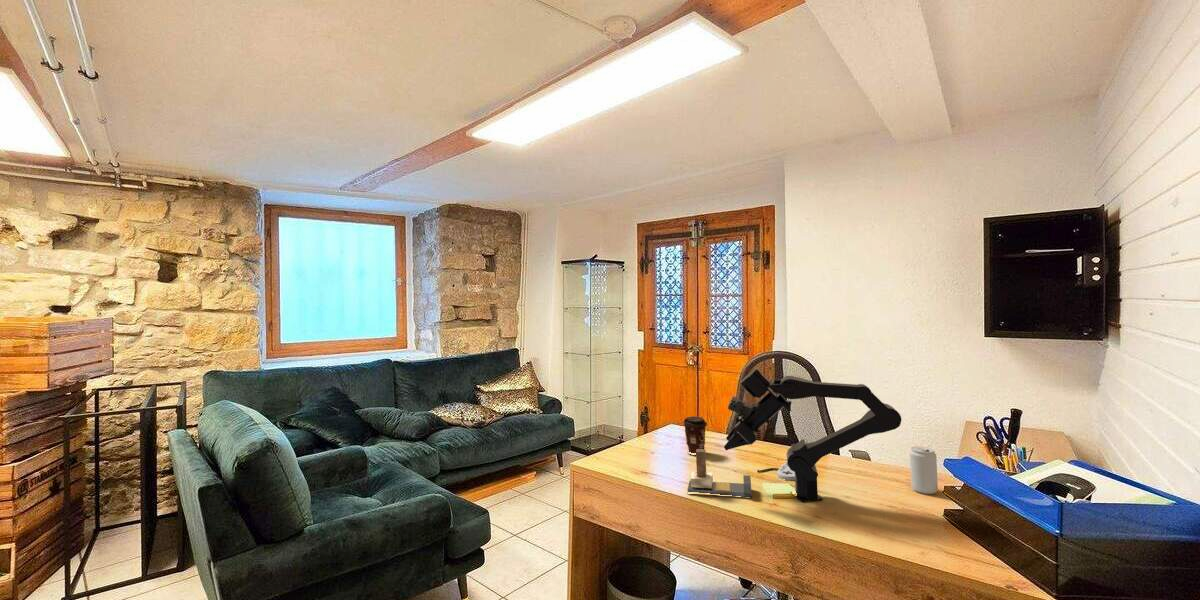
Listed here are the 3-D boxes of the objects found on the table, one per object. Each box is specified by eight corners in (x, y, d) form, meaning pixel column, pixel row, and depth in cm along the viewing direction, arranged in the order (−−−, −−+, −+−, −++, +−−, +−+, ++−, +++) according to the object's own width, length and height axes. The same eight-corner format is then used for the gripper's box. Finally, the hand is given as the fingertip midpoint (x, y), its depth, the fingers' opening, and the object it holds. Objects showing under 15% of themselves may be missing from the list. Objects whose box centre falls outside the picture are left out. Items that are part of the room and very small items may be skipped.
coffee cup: (679, 454, 183) (678, 418, 183) (692, 448, 189) (691, 414, 189) (699, 458, 177) (698, 422, 177) (712, 453, 183) (710, 417, 183)
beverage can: (925, 496, 138) (924, 453, 138) (905, 488, 144) (904, 447, 144) (943, 493, 139) (941, 450, 139) (923, 485, 146) (921, 444, 146)
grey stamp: (712, 480, 150) (711, 447, 150) (711, 488, 145) (710, 454, 145) (692, 479, 152) (691, 447, 152) (691, 487, 146) (689, 453, 146)
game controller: (796, 483, 152) (796, 477, 152) (754, 476, 159) (754, 470, 159) (806, 468, 165) (806, 462, 165) (767, 462, 172) (766, 457, 172)
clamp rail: (750, 489, 148) (750, 475, 148) (751, 498, 141) (751, 484, 141) (689, 485, 153) (689, 472, 153) (687, 494, 146) (687, 480, 146)
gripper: (745, 383, 154) (709, 416, 158) (743, 395, 137) (702, 431, 140) (772, 410, 152) (735, 442, 156) (773, 425, 134) (731, 462, 138)
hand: (726, 444), depth 147 cm, fingers open, 9 cm apart
